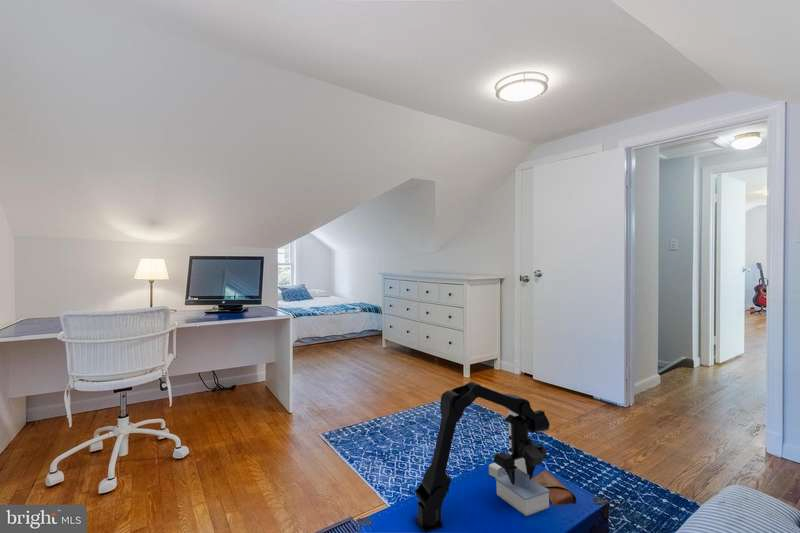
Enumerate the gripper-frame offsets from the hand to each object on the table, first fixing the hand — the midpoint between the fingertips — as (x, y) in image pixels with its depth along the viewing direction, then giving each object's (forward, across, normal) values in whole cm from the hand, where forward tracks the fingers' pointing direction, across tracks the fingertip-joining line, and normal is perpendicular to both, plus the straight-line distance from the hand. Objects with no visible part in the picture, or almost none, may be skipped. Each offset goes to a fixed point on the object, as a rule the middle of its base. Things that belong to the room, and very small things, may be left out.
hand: (521, 481), depth 129 cm
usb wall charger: (+7, +4, +16) cm, 18 cm away
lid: (+3, 0, 0) cm, 3 cm away
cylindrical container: (+7, +14, +16) cm, 22 cm away
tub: (+6, 0, 0) cm, 6 cm away
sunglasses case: (+7, +13, 0) cm, 15 cm away
